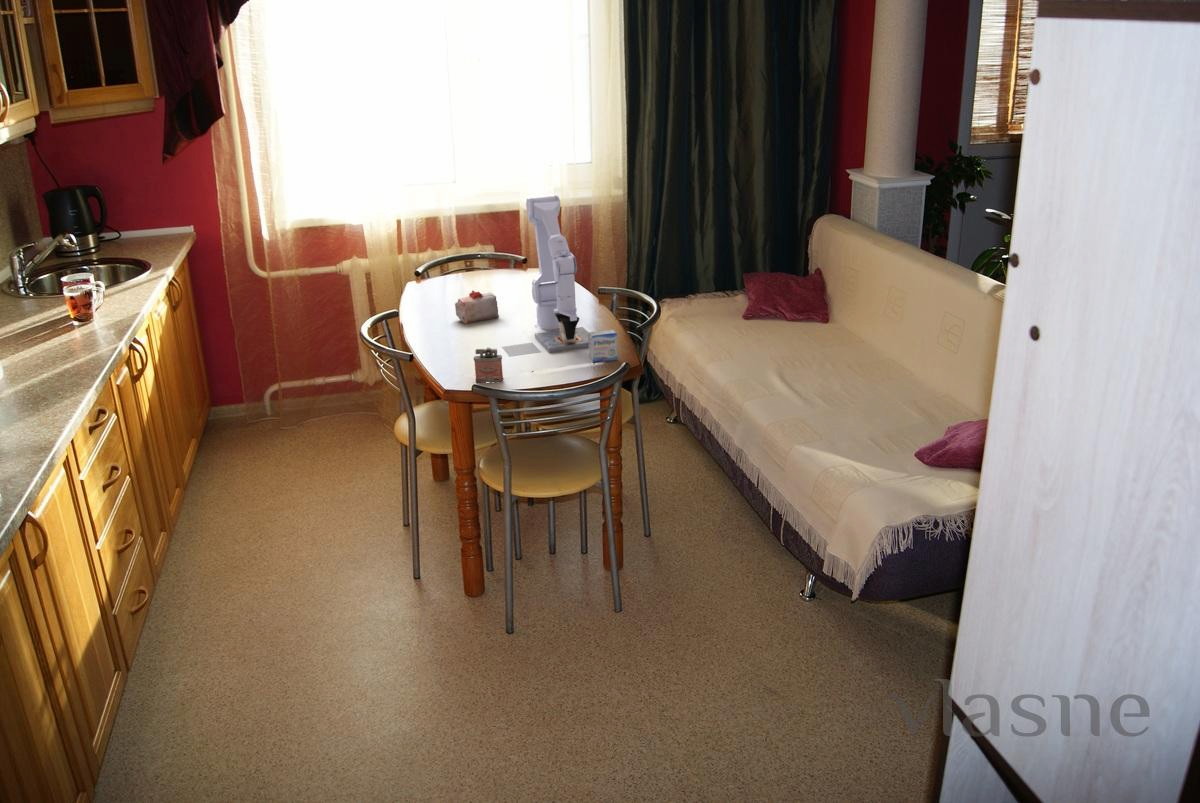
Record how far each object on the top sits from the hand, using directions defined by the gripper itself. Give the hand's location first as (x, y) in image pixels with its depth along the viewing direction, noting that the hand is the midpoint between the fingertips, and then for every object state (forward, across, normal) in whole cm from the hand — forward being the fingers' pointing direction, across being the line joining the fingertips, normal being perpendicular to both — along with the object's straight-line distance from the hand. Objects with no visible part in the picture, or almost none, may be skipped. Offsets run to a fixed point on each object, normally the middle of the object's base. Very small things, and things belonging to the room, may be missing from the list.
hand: (568, 336), depth 316 cm
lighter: (+3, +20, -30) cm, 36 cm away
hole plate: (+3, -2, 0) cm, 4 cm away
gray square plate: (+3, -1, -15) cm, 15 cm away
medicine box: (+3, +16, +6) cm, 17 cm away
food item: (+3, -42, -20) cm, 46 cm away
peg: (+1, 0, 0) cm, 1 cm away
